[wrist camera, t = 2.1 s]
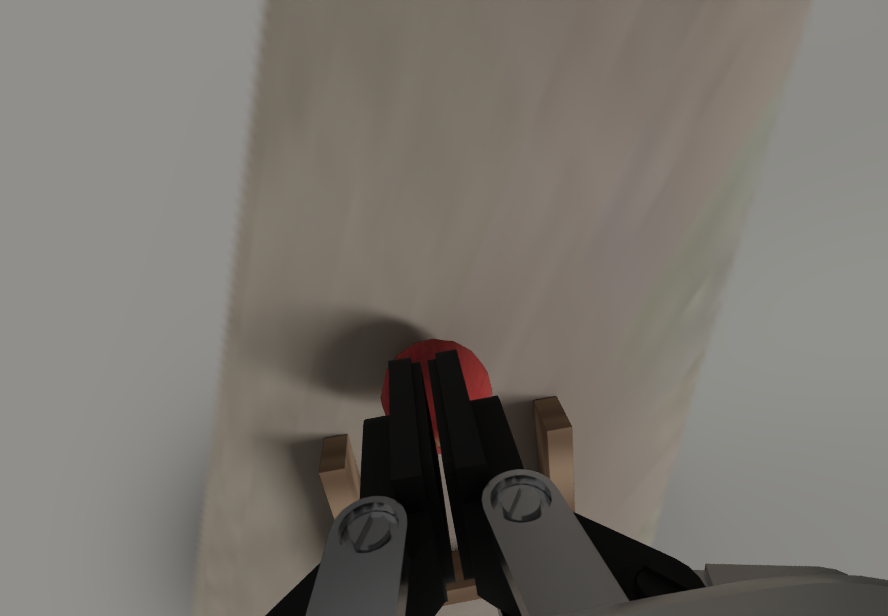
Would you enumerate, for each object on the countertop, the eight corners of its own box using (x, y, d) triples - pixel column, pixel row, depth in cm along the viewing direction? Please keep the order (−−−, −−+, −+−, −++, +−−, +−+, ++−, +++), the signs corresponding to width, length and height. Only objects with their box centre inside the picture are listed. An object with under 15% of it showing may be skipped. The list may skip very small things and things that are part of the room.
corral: (324, 438, 32) (318, 473, 30) (556, 396, 33) (572, 426, 30) (368, 581, 39) (368, 620, 36) (563, 544, 39) (576, 579, 37)
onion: (397, 407, 32) (402, 509, 25) (368, 330, 29) (364, 418, 22) (487, 383, 32) (518, 477, 25) (467, 303, 29) (494, 383, 22)
